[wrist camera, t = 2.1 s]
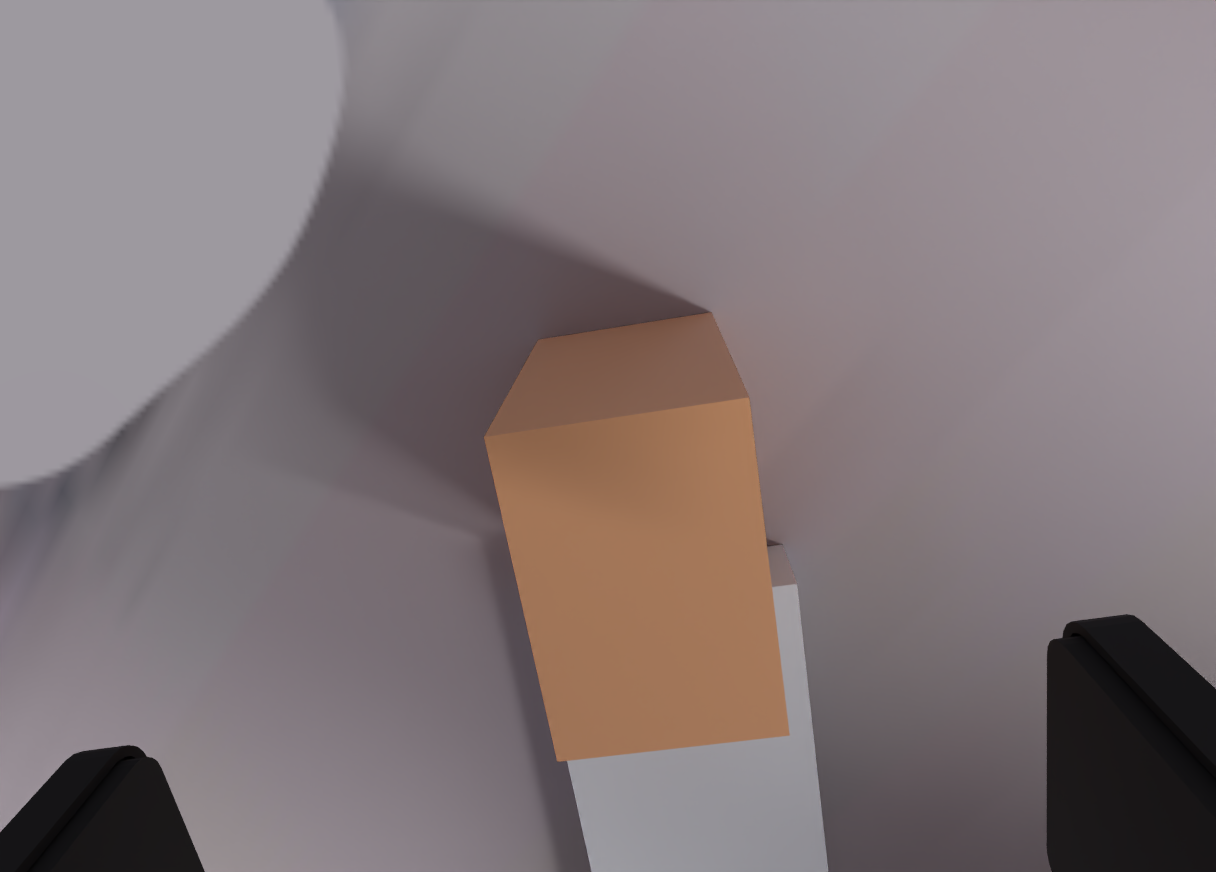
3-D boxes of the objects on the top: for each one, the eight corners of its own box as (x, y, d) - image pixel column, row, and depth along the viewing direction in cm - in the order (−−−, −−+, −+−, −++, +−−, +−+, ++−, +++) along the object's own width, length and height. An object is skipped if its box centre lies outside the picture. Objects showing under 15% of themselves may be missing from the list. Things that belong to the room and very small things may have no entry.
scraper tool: (755, 305, 19) (818, 387, 12) (838, 1037, 26) (906, 1340, 19) (495, 346, 19) (420, 446, 13) (646, 1052, 26) (648, 1353, 20)
